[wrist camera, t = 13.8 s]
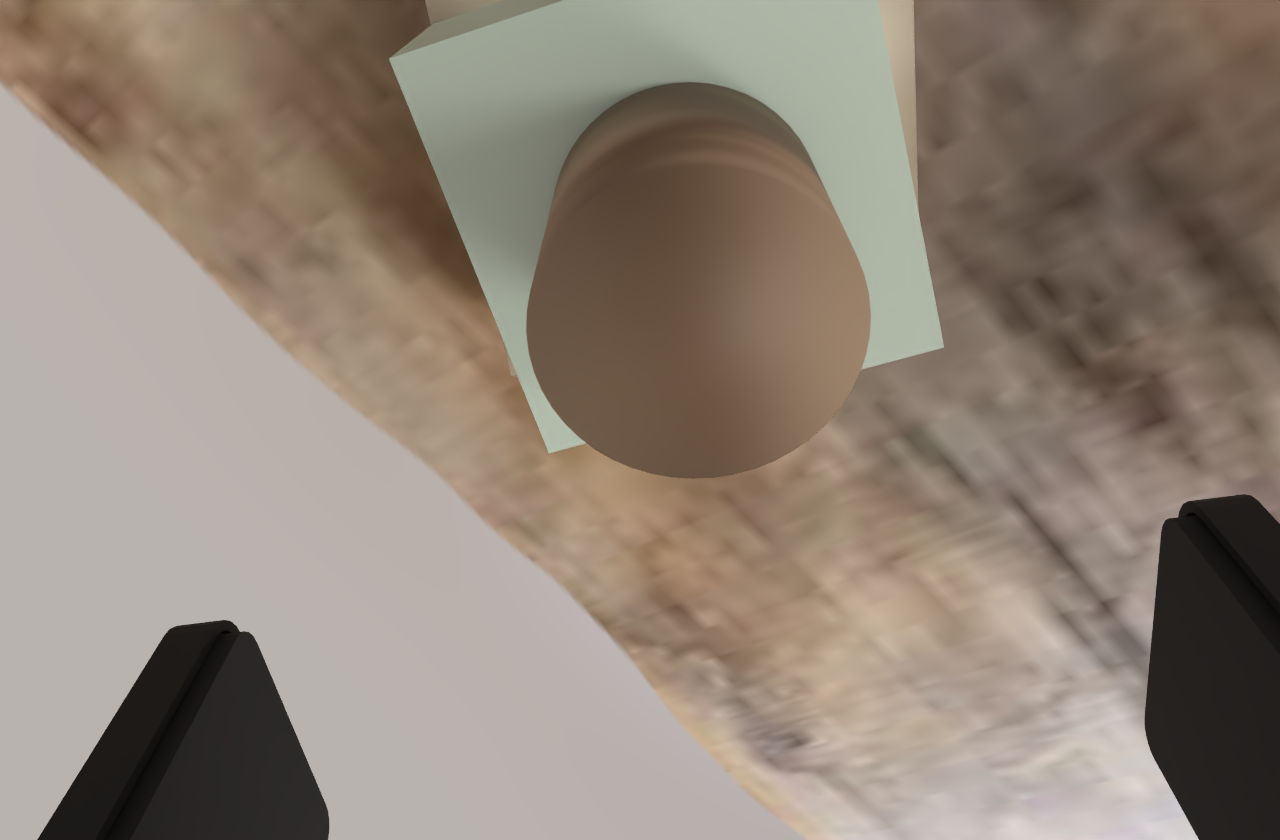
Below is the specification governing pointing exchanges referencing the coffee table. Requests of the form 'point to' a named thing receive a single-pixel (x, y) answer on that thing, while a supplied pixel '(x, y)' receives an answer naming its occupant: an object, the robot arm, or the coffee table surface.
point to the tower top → (638, 60)
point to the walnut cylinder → (695, 287)
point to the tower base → (900, 44)
